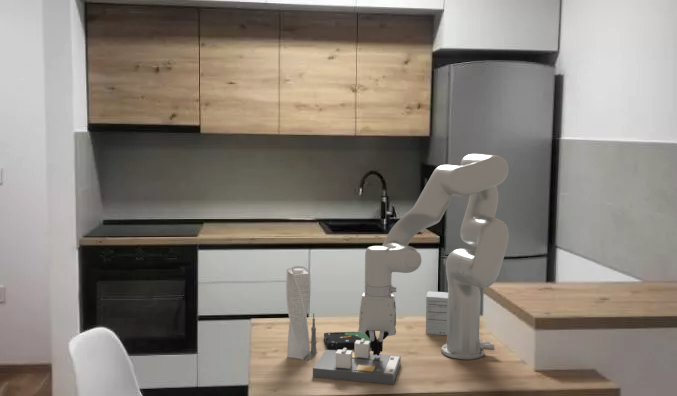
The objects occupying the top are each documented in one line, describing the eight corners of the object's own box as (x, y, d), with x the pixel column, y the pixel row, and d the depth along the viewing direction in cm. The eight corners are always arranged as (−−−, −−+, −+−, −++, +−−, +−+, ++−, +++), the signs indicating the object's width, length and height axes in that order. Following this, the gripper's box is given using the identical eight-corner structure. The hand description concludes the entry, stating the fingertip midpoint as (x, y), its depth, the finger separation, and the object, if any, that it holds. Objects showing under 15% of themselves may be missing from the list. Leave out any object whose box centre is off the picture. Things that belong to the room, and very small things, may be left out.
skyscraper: (307, 363, 188) (307, 268, 185) (281, 359, 191) (281, 265, 188) (317, 353, 196) (317, 262, 193) (292, 350, 199) (292, 260, 196)
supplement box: (426, 327, 221) (427, 290, 220) (448, 328, 220) (449, 292, 219) (425, 334, 214) (425, 296, 213) (447, 335, 213) (448, 297, 211)
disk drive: (327, 352, 198) (375, 349, 200) (327, 343, 198) (375, 340, 200) (323, 340, 209) (369, 338, 211) (323, 332, 208) (369, 330, 210)
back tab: (370, 354, 187) (370, 339, 186) (368, 358, 184) (368, 342, 184) (356, 353, 188) (356, 337, 187) (354, 356, 185) (354, 341, 184)
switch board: (400, 364, 187) (400, 355, 187) (393, 384, 172) (393, 374, 172) (325, 357, 192) (325, 349, 191) (312, 377, 177) (312, 367, 177)
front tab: (352, 364, 179) (352, 348, 178) (350, 368, 176) (350, 352, 176) (338, 363, 180) (338, 347, 179) (335, 367, 177) (335, 350, 176)
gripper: (406, 288, 185) (404, 351, 187) (354, 285, 188) (353, 347, 190) (403, 295, 178) (401, 360, 180) (349, 291, 181) (348, 356, 183)
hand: (376, 353), depth 185 cm, fingers closed
